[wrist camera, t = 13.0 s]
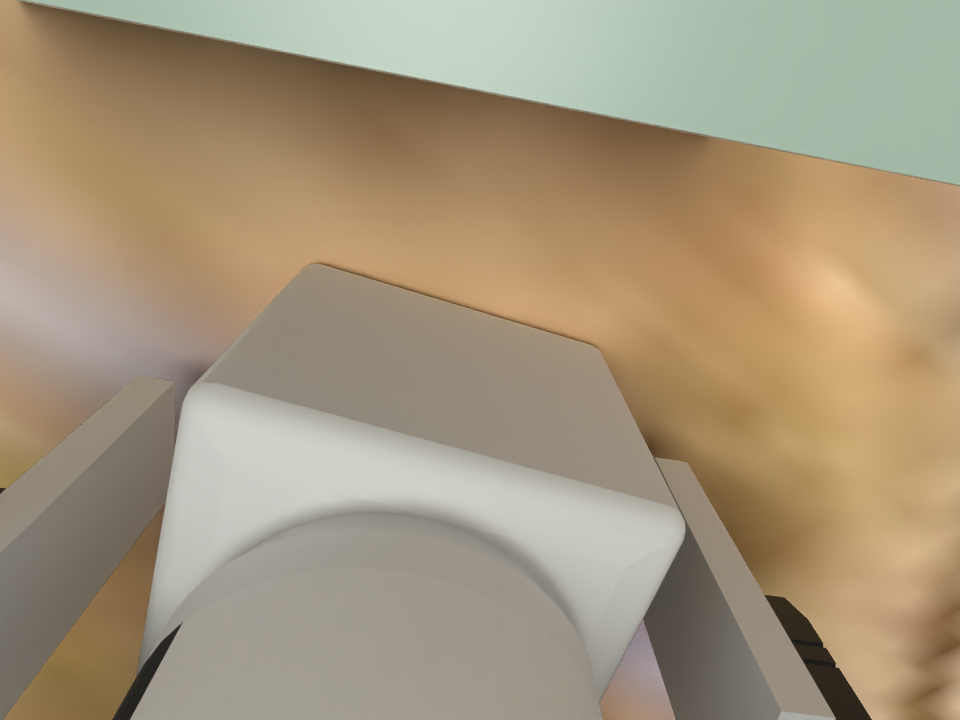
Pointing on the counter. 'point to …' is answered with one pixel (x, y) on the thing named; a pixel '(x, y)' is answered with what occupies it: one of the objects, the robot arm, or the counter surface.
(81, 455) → the robot arm
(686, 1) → the lid
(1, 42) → the counter surface
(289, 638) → the medicine bottle
